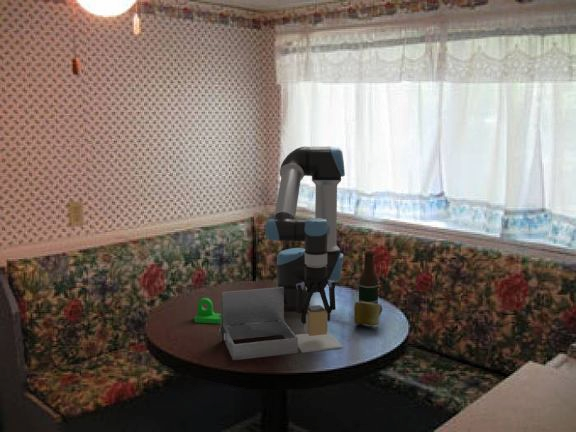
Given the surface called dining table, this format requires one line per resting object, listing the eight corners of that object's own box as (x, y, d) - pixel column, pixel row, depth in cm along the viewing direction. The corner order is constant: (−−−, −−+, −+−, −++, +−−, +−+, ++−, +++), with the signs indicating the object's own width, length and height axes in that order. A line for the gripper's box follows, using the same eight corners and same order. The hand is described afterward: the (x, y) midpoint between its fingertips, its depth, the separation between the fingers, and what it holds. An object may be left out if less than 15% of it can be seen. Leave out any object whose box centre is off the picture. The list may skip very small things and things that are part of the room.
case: (283, 332, 205) (283, 286, 203) (297, 352, 188) (297, 302, 185) (219, 339, 199) (217, 292, 197) (228, 361, 182) (226, 309, 179)
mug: (364, 322, 202) (364, 295, 206) (347, 327, 211) (347, 300, 215) (392, 327, 208) (391, 300, 212) (375, 332, 216) (374, 305, 220)
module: (321, 328, 199) (321, 304, 198) (326, 334, 194) (327, 309, 192) (304, 329, 198) (304, 305, 196) (309, 336, 192) (309, 311, 191)
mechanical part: (194, 322, 216) (193, 302, 215) (199, 317, 222) (198, 297, 221) (225, 324, 214) (224, 303, 213) (229, 319, 220) (229, 298, 219)
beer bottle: (355, 312, 226) (356, 253, 222) (360, 306, 233) (361, 248, 229) (375, 315, 223) (376, 254, 219) (379, 308, 230) (381, 250, 226)
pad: (328, 332, 205) (328, 331, 205) (342, 348, 192) (342, 346, 192) (290, 337, 201) (290, 335, 201) (301, 352, 188) (301, 351, 188)
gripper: (338, 260, 198) (338, 324, 202) (285, 264, 193) (285, 330, 197) (346, 265, 191) (345, 332, 195) (291, 269, 186) (291, 338, 190)
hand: (315, 331), depth 196 cm, fingers closed on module, 6 cm apart
